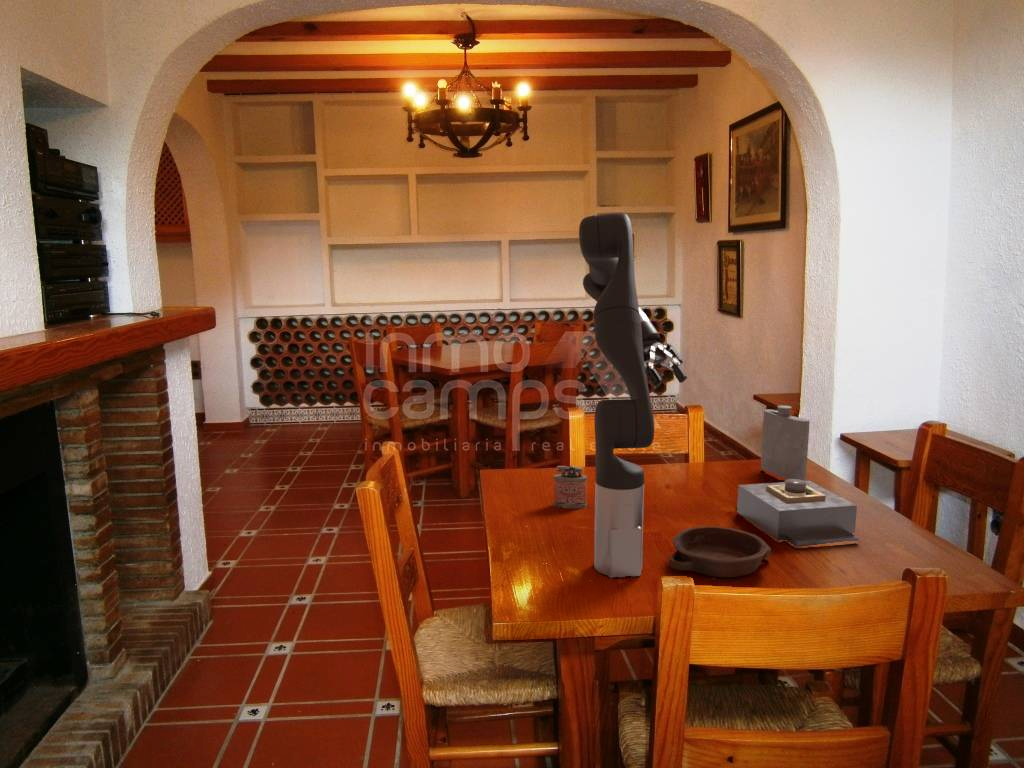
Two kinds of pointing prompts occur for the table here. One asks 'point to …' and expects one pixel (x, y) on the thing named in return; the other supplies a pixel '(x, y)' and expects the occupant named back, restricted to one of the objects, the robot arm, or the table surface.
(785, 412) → the hip flask
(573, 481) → the lighter
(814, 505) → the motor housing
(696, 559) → the dish
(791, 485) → the salt shaker
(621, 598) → the table surface
